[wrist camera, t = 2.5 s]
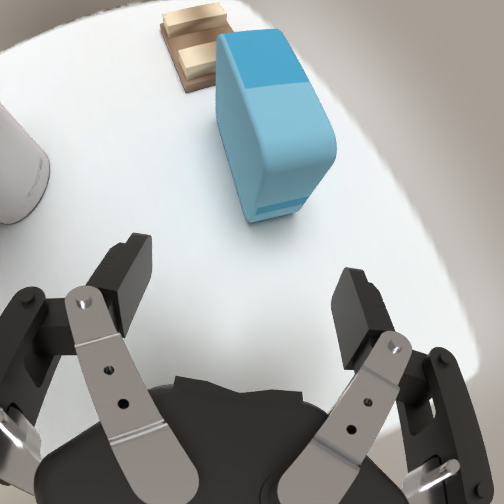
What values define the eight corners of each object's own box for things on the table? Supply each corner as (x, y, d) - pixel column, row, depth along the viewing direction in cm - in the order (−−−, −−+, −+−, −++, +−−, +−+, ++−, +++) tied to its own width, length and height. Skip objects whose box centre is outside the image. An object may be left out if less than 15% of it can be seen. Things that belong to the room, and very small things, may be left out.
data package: (296, 216, 28) (344, 150, 16) (247, 228, 27) (267, 164, 15) (258, 109, 30) (276, 20, 18) (215, 117, 29) (215, 25, 17)
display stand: (186, 93, 29) (183, 73, 26) (160, 30, 31) (158, 12, 28) (256, 75, 31) (259, 56, 27) (219, 17, 33) (219, -1, 29)
